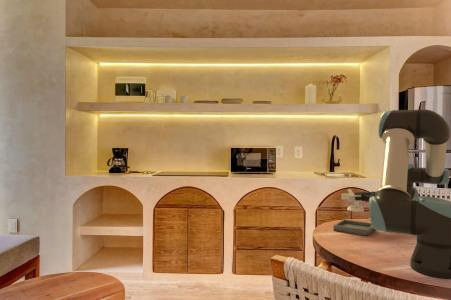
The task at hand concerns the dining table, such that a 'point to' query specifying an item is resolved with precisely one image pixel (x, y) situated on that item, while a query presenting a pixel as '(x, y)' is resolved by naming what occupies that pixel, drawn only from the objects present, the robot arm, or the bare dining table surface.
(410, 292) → the dining table surface
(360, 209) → the white vr controller
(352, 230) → the tray
